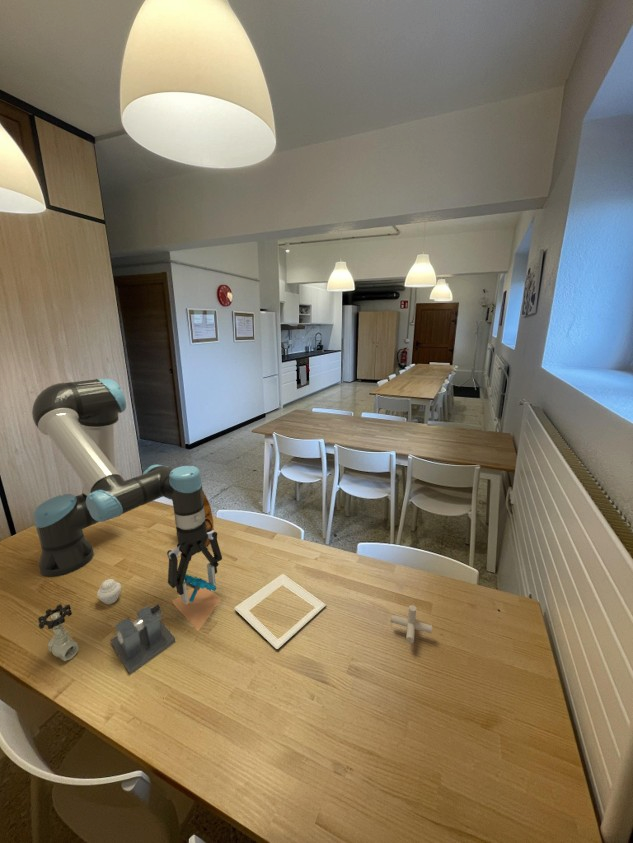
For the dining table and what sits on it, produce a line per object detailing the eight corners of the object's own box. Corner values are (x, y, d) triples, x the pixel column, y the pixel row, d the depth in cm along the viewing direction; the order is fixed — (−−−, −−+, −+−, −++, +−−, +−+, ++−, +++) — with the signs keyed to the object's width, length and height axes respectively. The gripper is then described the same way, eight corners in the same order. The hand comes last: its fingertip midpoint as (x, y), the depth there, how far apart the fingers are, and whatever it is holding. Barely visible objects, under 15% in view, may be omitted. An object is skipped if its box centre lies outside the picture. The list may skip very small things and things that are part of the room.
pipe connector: (430, 628, 89) (433, 598, 86) (429, 662, 80) (433, 630, 77) (392, 618, 92) (394, 588, 89) (387, 650, 83) (390, 618, 80)
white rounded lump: (95, 610, 95) (91, 590, 93) (104, 594, 100) (100, 574, 98) (119, 606, 96) (115, 586, 94) (126, 590, 102) (122, 571, 100)
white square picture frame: (326, 609, 95) (326, 604, 94) (277, 655, 82) (277, 648, 81) (282, 578, 107) (282, 572, 107) (234, 613, 94) (233, 607, 93)
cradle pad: (171, 602, 97) (171, 601, 97) (202, 583, 105) (202, 582, 104) (198, 631, 88) (198, 630, 88) (230, 608, 95) (230, 607, 95)
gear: (224, 587, 94) (199, 582, 87) (214, 609, 92) (188, 606, 85) (200, 574, 101) (175, 568, 93) (190, 595, 98) (164, 590, 91)
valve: (57, 671, 78) (46, 630, 74) (42, 659, 80) (30, 620, 77) (86, 647, 83) (77, 609, 80) (71, 637, 86) (61, 600, 83)
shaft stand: (111, 644, 84) (105, 618, 82) (155, 616, 92) (151, 592, 90) (130, 675, 77) (124, 647, 75) (175, 642, 85) (171, 616, 83)
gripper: (158, 547, 79) (170, 623, 85) (231, 512, 94) (236, 578, 100) (145, 534, 84) (157, 607, 90) (216, 503, 99) (222, 567, 105)
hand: (199, 592), depth 95 cm, fingers closed on gear, 8 cm apart
